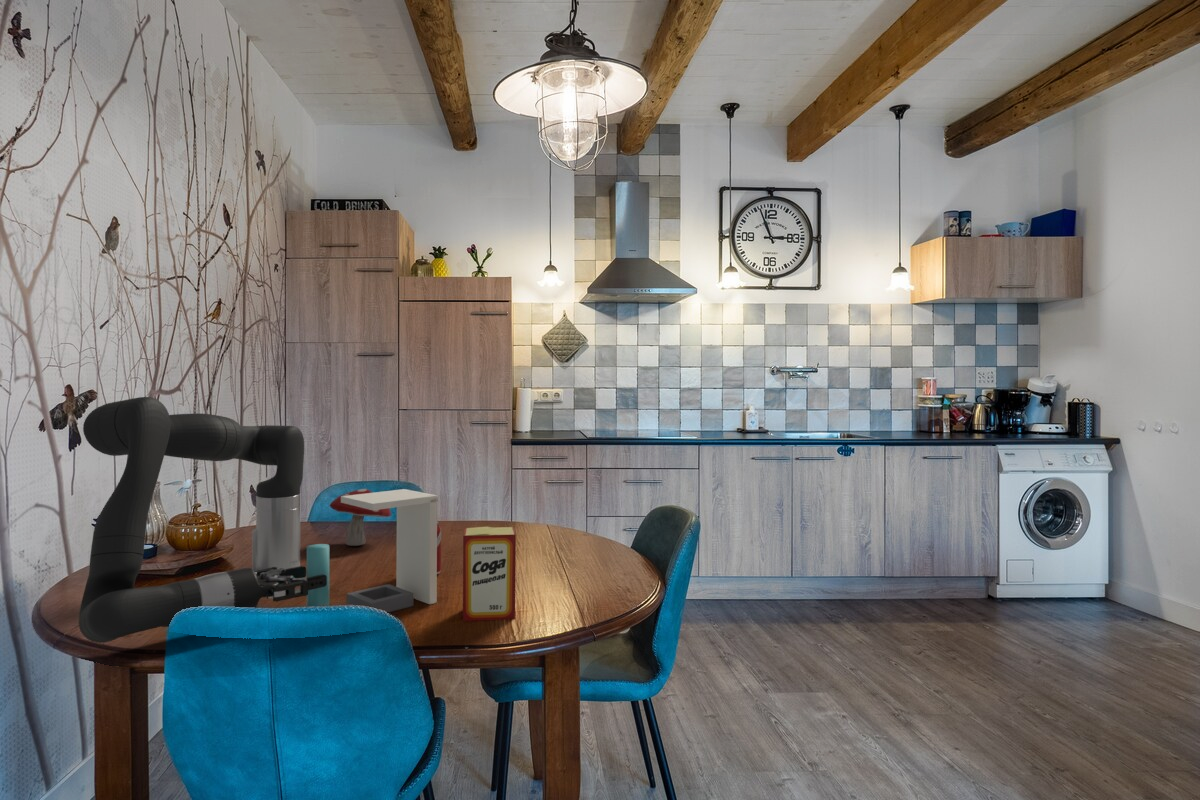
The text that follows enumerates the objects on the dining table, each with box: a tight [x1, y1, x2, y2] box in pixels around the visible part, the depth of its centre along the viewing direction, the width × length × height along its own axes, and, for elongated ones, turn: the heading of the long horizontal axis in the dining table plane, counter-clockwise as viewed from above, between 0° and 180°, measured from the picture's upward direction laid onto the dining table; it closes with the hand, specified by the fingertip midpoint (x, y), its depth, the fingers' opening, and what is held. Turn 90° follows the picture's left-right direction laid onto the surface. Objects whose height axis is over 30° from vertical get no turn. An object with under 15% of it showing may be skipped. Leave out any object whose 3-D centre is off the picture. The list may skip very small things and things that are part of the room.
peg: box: [306, 543, 330, 607], centre depth 132 cm, size 4×4×12 cm
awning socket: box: [340, 488, 439, 613], centre depth 136 cm, size 14×12×21 cm
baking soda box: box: [462, 526, 517, 622], centre depth 130 cm, size 10×6×16 cm
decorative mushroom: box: [329, 488, 392, 547], centre depth 185 cm, size 16×16×15 cm
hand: (315, 575), depth 132 cm, fingers open, 8 cm apart
